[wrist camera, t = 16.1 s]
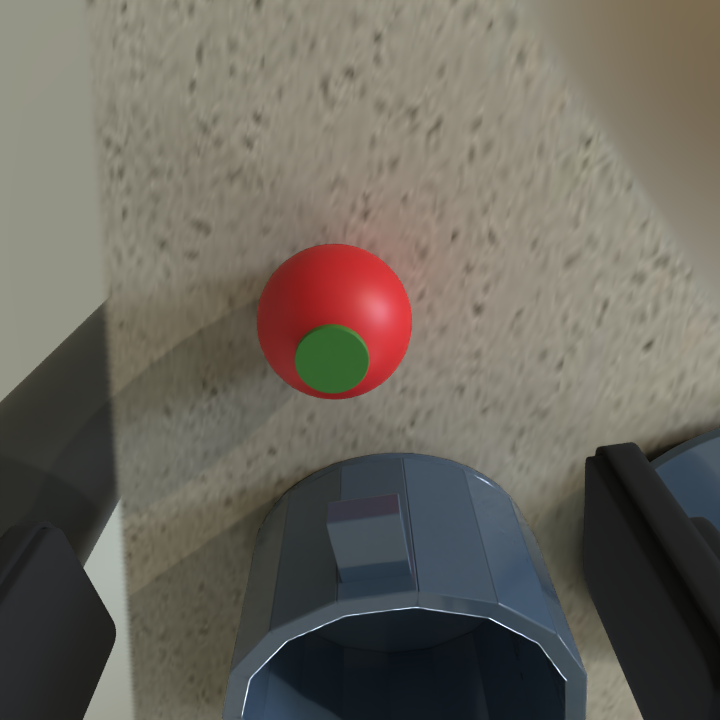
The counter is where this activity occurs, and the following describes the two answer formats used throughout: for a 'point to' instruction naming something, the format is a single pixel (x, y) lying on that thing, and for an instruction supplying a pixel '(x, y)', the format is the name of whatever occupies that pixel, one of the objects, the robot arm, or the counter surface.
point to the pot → (401, 603)
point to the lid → (694, 475)
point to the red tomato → (334, 321)
